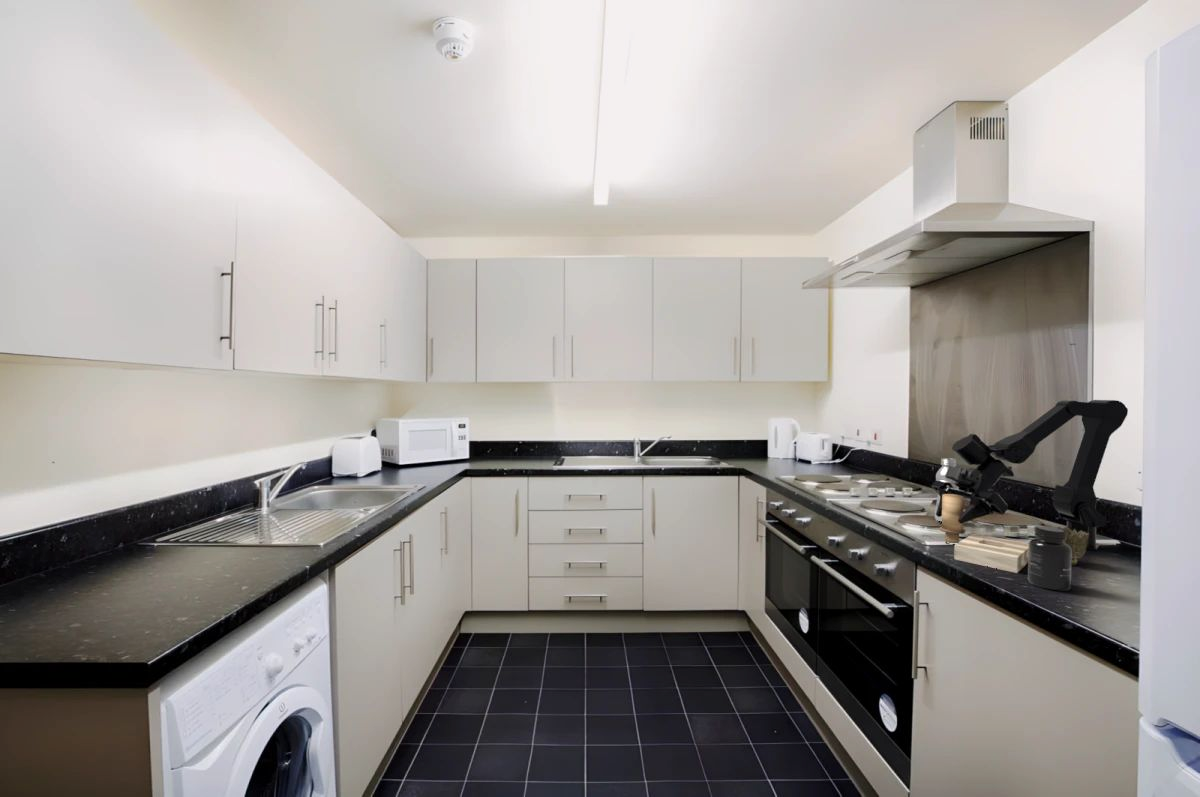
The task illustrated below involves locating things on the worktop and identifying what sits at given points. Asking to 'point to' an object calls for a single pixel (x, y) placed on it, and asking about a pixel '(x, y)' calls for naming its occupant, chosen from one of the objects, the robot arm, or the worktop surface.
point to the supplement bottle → (1050, 559)
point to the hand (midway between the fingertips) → (948, 519)
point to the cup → (1076, 542)
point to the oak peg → (952, 517)
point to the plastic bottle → (944, 479)
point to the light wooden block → (992, 552)
